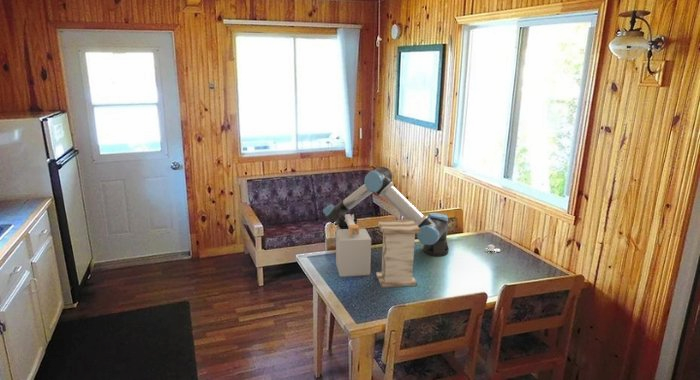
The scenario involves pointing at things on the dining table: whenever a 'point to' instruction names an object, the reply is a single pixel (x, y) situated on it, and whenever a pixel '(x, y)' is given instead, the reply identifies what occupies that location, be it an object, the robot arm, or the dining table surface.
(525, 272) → the dining table surface
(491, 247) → the teacup and saucer
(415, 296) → the dining table surface
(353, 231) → the plug bar
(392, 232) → the parchment scroll
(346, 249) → the tall block
